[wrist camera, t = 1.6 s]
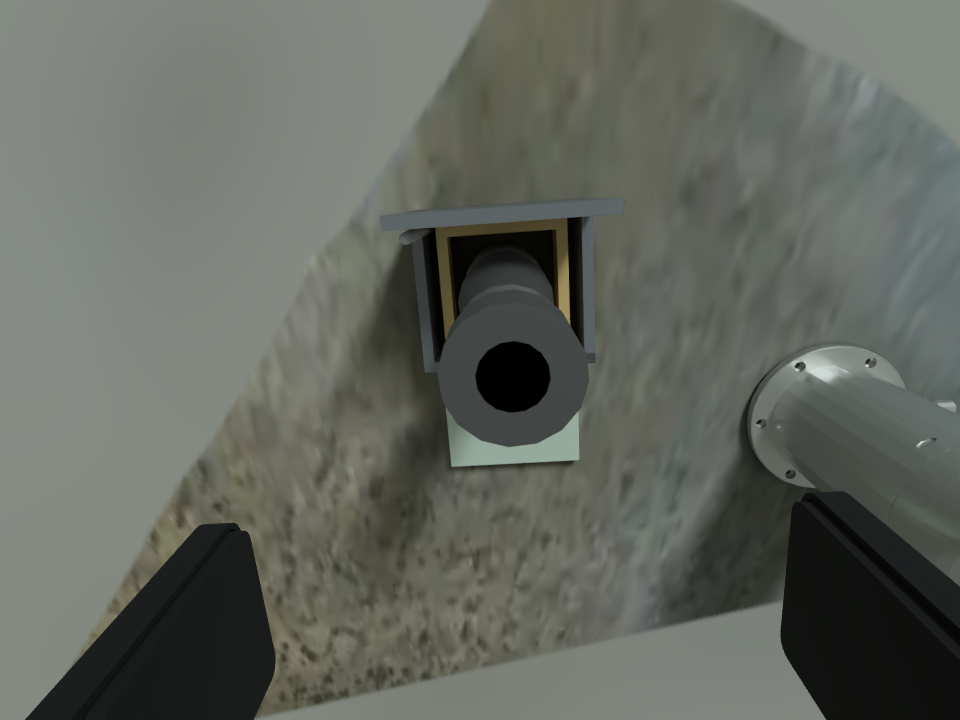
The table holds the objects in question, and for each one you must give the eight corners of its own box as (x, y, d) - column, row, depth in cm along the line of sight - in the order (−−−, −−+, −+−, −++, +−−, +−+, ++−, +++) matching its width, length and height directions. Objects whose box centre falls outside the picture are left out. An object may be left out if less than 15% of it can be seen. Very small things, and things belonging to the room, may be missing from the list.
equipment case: (584, 198, 43) (624, 198, 30) (587, 349, 46) (624, 410, 33) (415, 210, 44) (380, 215, 30) (430, 358, 47) (404, 423, 33)
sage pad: (575, 367, 47) (577, 370, 46) (577, 454, 49) (579, 459, 48) (444, 375, 47) (443, 378, 46) (452, 461, 49) (451, 466, 48)
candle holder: (556, 263, 44) (626, 339, 20) (521, 332, 46) (549, 477, 22) (485, 229, 44) (472, 266, 20) (453, 300, 46) (404, 414, 21)
